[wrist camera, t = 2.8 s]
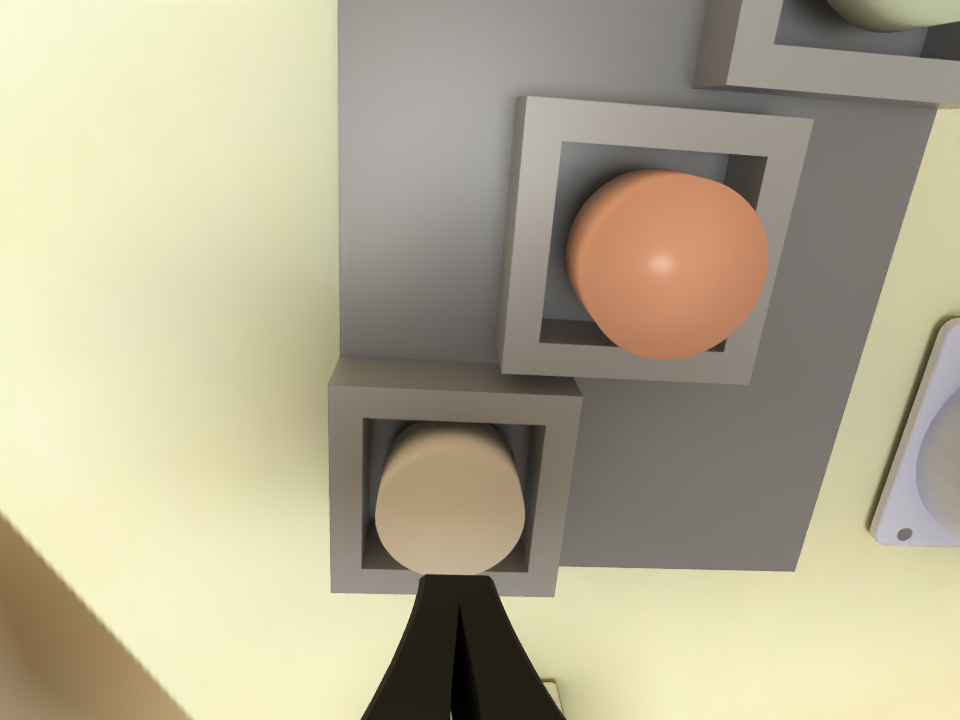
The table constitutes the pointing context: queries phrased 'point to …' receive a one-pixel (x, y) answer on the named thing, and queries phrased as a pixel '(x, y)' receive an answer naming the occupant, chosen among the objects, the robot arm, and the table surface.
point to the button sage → (896, 13)
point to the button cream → (449, 498)
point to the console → (544, 279)
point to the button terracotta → (667, 262)
